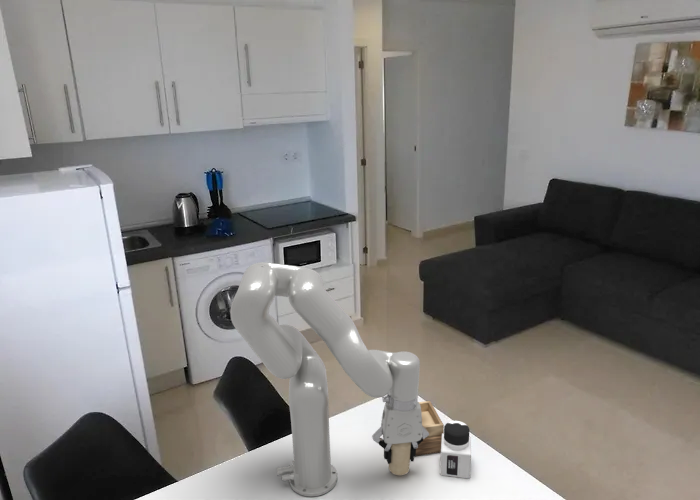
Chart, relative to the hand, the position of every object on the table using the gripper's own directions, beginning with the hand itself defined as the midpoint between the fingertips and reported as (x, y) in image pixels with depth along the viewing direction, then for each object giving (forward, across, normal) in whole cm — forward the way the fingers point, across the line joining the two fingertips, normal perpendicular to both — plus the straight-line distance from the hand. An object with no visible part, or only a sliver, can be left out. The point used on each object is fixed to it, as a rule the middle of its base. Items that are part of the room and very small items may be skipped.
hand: (399, 458), depth 138 cm
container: (+4, +15, -1) cm, 16 cm away
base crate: (+4, +8, +12) cm, 15 cm away
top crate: (-1, +8, +12) cm, 14 cm away
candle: (+3, 0, 0) cm, 3 cm away
